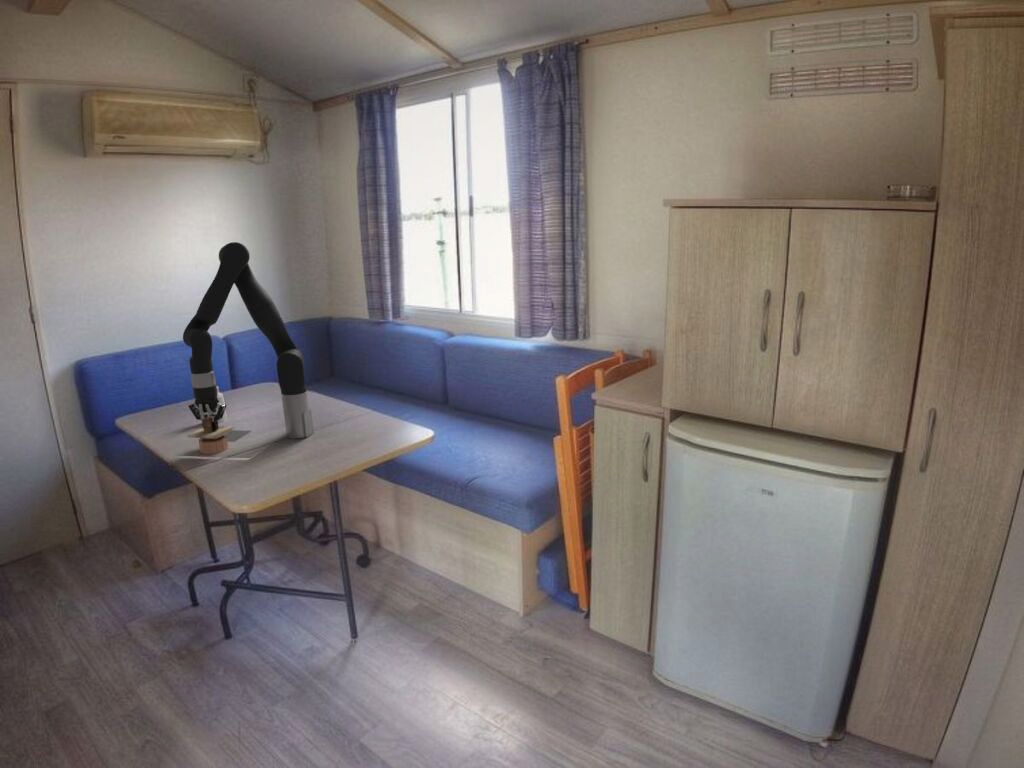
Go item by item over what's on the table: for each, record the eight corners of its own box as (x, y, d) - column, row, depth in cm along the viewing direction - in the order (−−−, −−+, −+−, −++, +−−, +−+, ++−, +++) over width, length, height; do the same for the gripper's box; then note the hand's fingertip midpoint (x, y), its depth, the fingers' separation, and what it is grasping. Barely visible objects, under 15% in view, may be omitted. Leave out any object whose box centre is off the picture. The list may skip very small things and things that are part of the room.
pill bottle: (219, 418, 259) (214, 384, 255) (231, 421, 255) (226, 386, 251) (202, 423, 252) (196, 388, 249) (214, 426, 248) (208, 391, 245)
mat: (252, 432, 240) (252, 430, 240) (235, 443, 229) (234, 441, 229) (223, 431, 242) (223, 430, 242) (205, 442, 230) (205, 440, 230)
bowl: (233, 447, 225) (231, 434, 224) (219, 456, 217) (217, 443, 215) (210, 446, 227) (208, 433, 225) (195, 455, 218) (193, 442, 217)
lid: (234, 428, 224) (232, 413, 223) (216, 438, 214) (214, 422, 212) (207, 427, 226) (204, 412, 225) (187, 437, 215) (185, 421, 214)
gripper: (228, 381, 218) (235, 428, 222) (192, 381, 220) (200, 426, 224) (216, 387, 211) (223, 435, 215) (179, 386, 213) (186, 433, 217)
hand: (211, 430), depth 220 cm, fingers closed on lid, 2 cm apart
